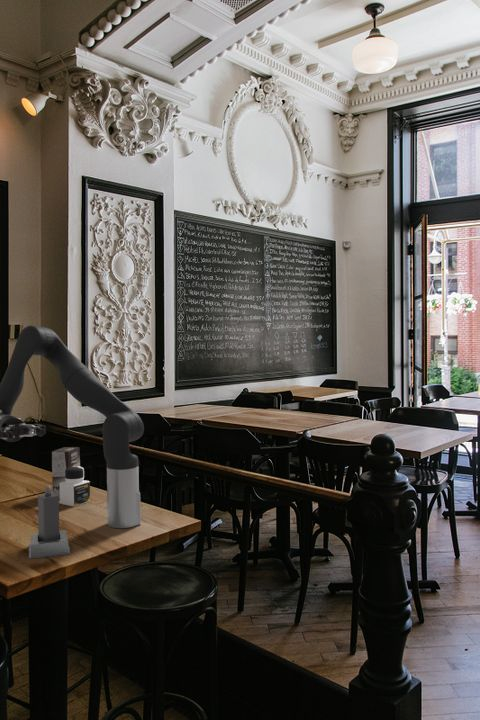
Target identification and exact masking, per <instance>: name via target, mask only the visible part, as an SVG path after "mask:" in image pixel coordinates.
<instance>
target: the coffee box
mask: <svg viewBox="0 0 480 720" xmlns="http://www.w3.org/2000/svg"><path fill="white" fill-rule="evenodd" d="M80 451H81V450H80V447H78V446H75V447H74V446H72V447H71V446H70V447H68V446H65V447H61V448H58V449H55V450H53V451H51V469H52V471H51V474H52V476H51V479H52V486H51V493H54V494H56V495H58V496H59V498H60V483H61V482H65V481H66V480H65V470H66V469H67V468H69V467H74V466H79V467H81V459H80V458H81V457H80V455H81V454H80Z"/></svg>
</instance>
